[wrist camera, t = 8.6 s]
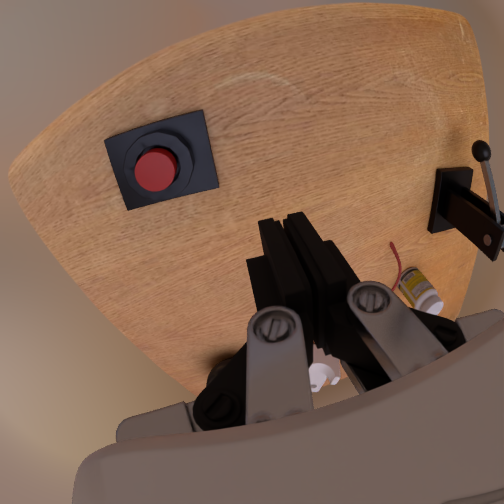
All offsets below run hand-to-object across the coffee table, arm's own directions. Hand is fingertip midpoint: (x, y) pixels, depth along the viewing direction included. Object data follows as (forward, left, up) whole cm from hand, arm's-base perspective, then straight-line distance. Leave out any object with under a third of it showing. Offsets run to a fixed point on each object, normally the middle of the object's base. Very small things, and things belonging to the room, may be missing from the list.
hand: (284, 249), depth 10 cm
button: (-1, -8, -16) cm, 18 cm away
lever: (+7, +30, -12) cm, 33 cm away
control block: (-1, -8, -18) cm, 20 cm away
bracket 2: (+10, +30, -18) cm, 37 cm away
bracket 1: (+40, +5, -19) cm, 45 cm away
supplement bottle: (+24, +24, -19) cm, 39 cm away
